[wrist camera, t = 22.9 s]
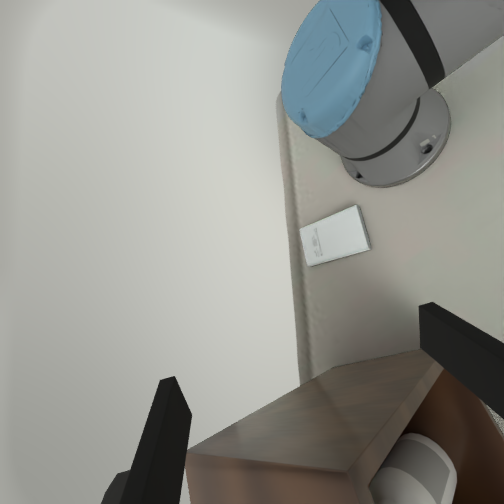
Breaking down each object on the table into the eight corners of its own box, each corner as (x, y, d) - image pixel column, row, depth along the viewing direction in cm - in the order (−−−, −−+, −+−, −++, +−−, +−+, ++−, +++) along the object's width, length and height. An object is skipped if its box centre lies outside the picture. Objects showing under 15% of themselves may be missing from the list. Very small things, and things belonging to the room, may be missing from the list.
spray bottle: (436, 430, 32) (392, 528, 20) (470, 494, 30) (444, 653, 17) (388, 432, 37) (327, 515, 24) (414, 488, 34) (361, 613, 22)
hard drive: (372, 249, 41) (311, 266, 49) (359, 205, 43) (303, 229, 51) (368, 249, 40) (306, 266, 48) (355, 203, 41) (298, 228, 50)
